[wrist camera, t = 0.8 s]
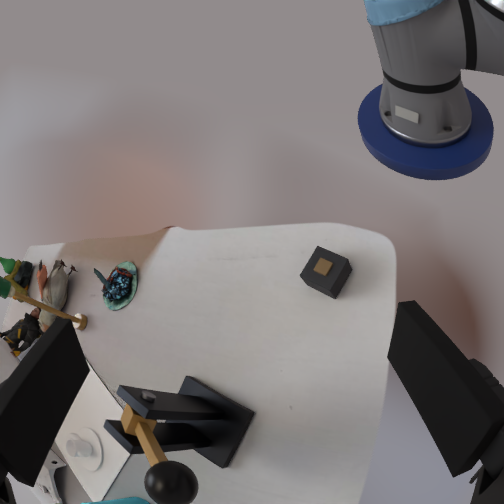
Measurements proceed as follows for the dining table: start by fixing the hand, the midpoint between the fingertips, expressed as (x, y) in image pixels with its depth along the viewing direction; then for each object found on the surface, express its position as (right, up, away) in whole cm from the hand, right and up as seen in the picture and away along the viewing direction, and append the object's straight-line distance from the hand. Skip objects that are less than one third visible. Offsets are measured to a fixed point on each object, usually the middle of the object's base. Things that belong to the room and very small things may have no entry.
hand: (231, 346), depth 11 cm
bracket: (-34, -41, +25) cm, 59 cm away
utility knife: (-47, -7, +50) cm, 70 cm away
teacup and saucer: (-27, -27, +29) cm, 48 cm away
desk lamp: (-31, -10, +41) cm, 52 cm away
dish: (-22, -6, +40) cm, 46 cm away
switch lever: (-6, -13, +9) cm, 17 cm away
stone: (-64, -4, +62) cm, 89 cm away
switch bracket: (-5, -17, +23) cm, 29 cm away
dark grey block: (+10, +1, +24) cm, 26 cm away
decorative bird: (-37, +1, +45) cm, 58 cm away
